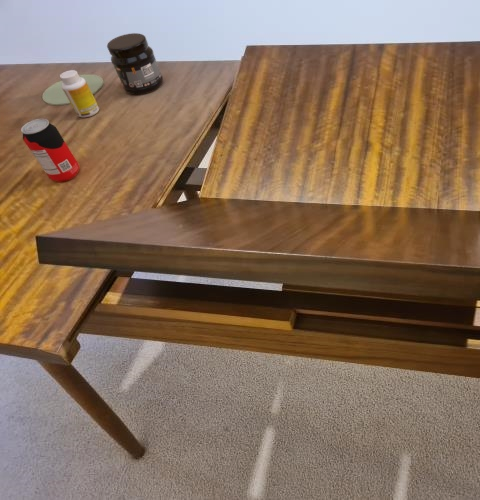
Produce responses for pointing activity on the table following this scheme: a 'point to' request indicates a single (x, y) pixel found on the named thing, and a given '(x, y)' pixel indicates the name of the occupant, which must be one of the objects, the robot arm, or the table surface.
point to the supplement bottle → (79, 94)
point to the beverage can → (50, 150)
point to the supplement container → (135, 63)
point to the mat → (58, 97)
